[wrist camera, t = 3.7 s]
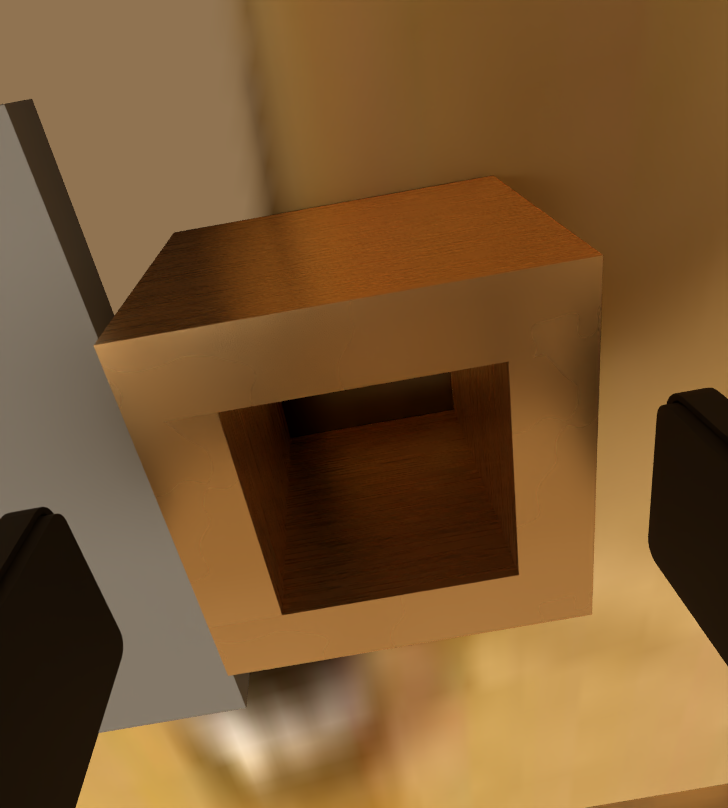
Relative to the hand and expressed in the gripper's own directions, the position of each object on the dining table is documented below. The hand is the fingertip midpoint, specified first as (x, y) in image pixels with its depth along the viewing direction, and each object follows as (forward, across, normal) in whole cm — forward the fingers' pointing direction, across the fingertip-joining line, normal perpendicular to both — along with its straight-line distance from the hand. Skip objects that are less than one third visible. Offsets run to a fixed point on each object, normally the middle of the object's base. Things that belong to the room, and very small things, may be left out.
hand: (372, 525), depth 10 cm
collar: (+5, 0, -1) cm, 5 cm away
